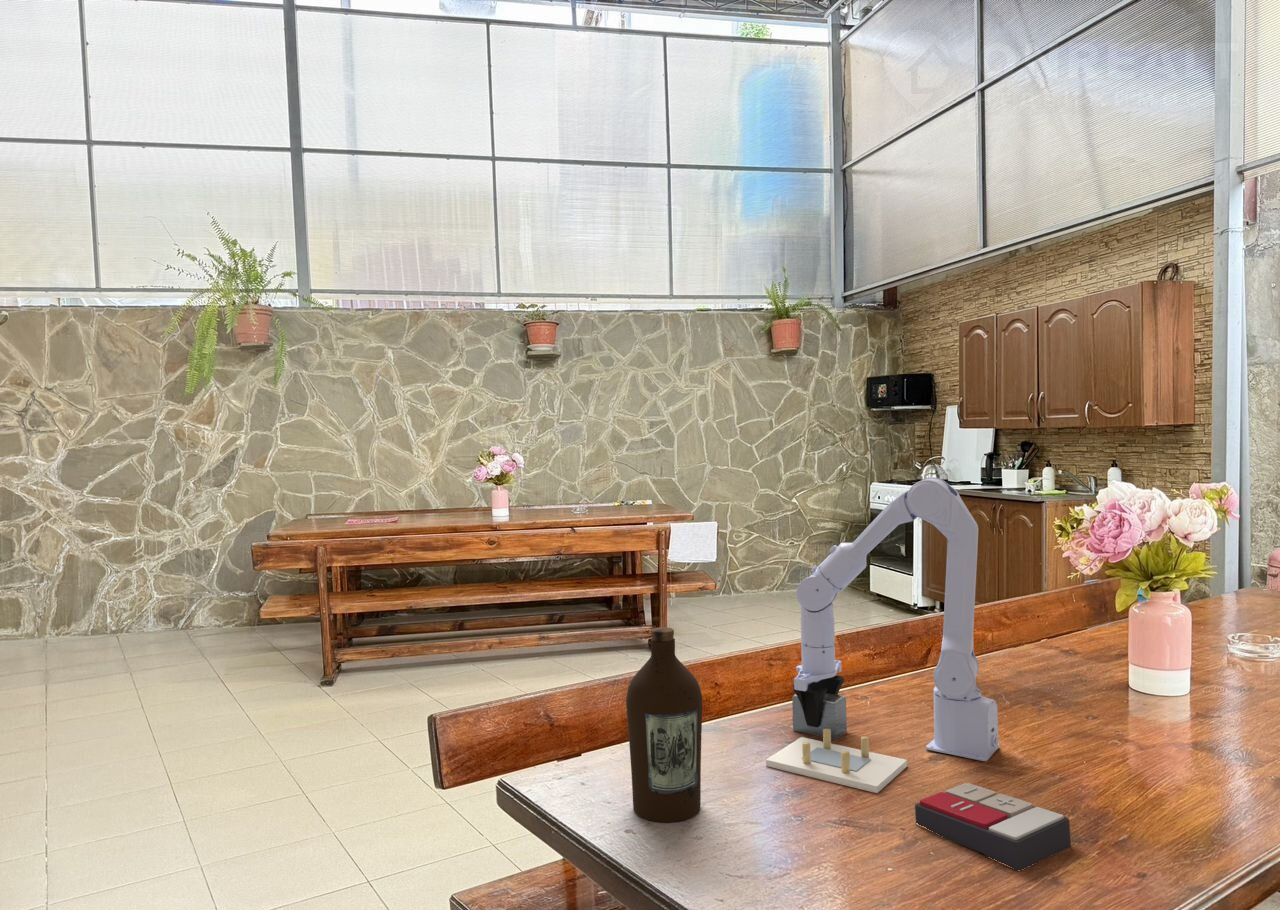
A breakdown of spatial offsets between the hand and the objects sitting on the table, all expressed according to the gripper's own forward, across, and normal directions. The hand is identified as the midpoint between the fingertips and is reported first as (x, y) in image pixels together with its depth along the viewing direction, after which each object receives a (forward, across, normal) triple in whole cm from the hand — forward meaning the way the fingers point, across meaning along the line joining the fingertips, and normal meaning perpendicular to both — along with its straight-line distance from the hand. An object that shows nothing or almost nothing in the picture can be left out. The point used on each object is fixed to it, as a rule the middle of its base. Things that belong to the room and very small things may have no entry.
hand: (819, 721), depth 146 cm
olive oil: (+2, +40, -4) cm, 40 cm away
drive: (+2, 0, 0) cm, 2 cm away
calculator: (+2, +23, +34) cm, 41 cm away
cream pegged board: (+2, +13, +9) cm, 16 cm away
